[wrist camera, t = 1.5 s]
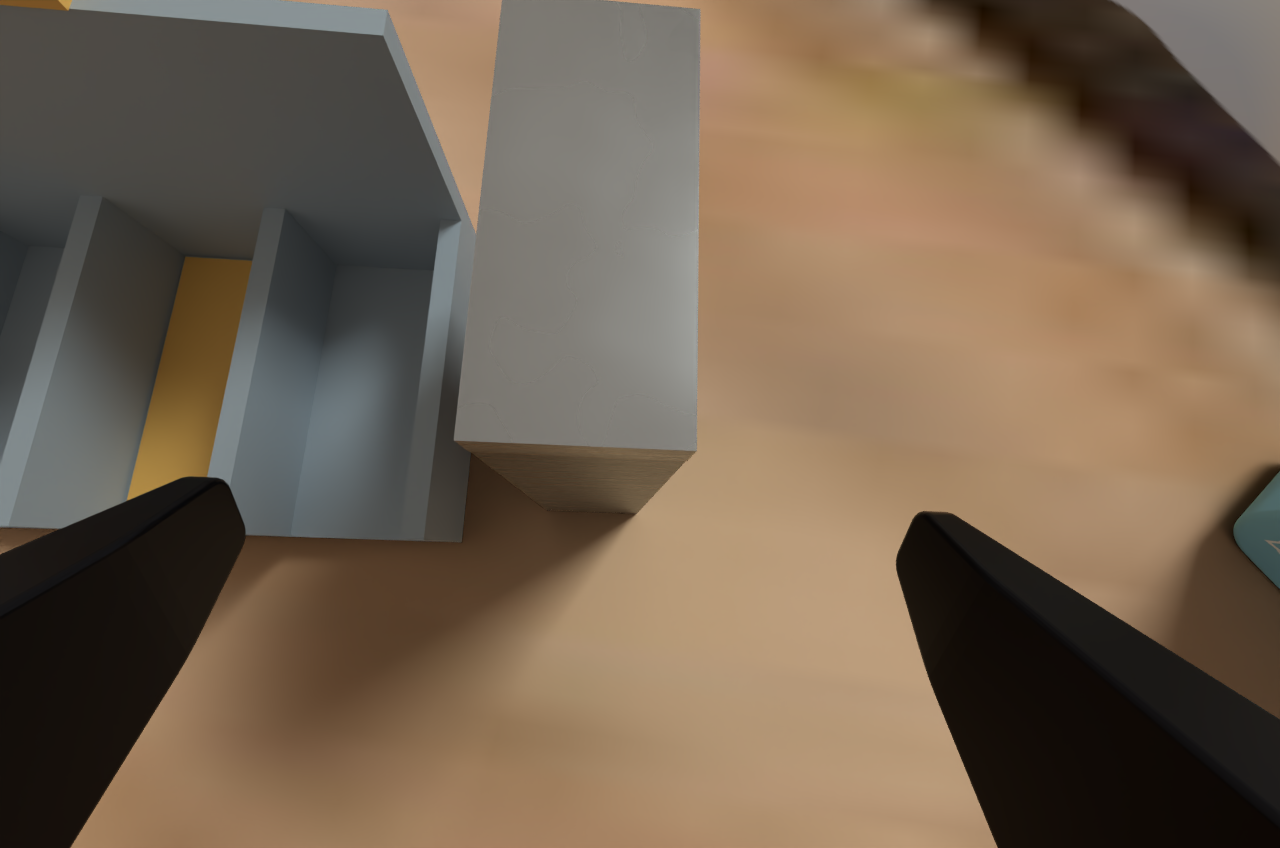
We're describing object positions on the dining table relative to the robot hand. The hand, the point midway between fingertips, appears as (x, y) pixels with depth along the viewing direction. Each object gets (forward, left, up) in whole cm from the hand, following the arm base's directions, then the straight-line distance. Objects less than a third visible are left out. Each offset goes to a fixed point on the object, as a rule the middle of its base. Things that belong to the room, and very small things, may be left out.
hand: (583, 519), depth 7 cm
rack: (-3, +12, -11) cm, 17 cm away
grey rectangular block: (+4, +3, -11) cm, 12 cm away
